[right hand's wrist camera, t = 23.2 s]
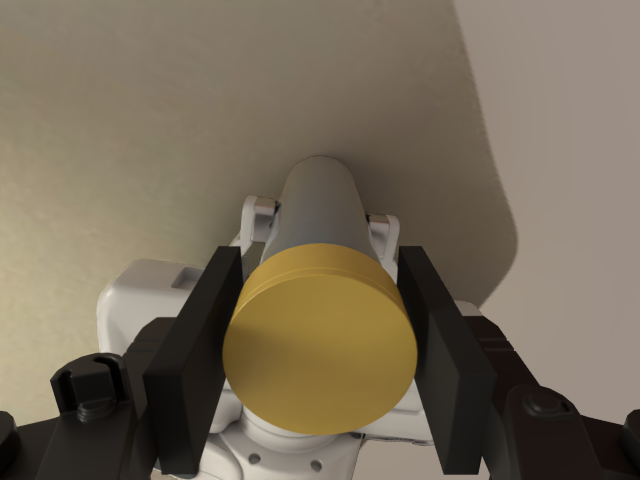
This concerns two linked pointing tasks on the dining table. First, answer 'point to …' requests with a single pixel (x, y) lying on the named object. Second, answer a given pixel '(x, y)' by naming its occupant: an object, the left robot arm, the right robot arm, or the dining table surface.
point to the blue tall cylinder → (320, 210)
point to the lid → (320, 341)
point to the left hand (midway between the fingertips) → (321, 208)
